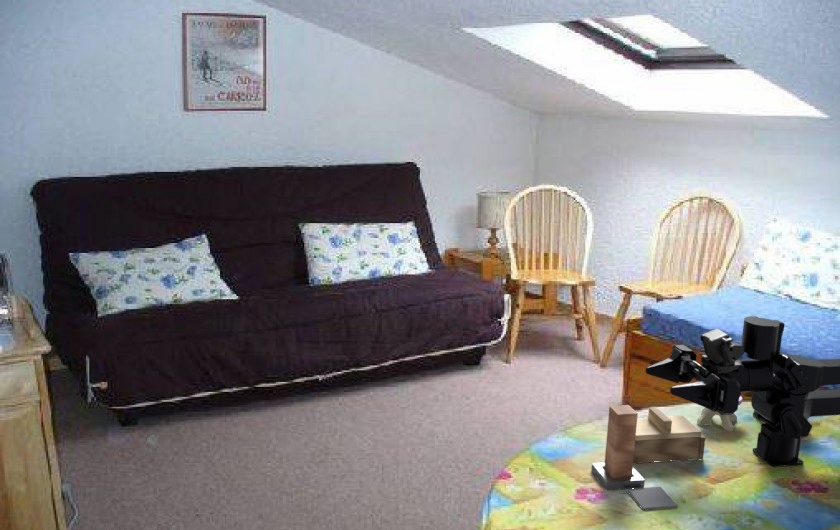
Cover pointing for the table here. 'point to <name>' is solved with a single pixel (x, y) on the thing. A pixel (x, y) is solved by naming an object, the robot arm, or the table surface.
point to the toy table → (725, 419)
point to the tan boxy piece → (669, 449)
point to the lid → (664, 427)
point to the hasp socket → (617, 479)
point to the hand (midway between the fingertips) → (657, 380)
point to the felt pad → (652, 498)
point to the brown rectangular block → (620, 441)
